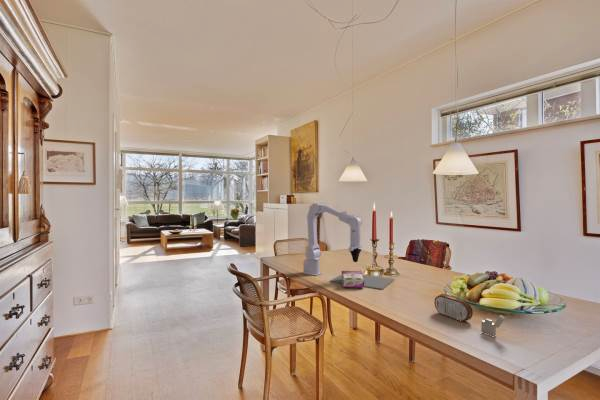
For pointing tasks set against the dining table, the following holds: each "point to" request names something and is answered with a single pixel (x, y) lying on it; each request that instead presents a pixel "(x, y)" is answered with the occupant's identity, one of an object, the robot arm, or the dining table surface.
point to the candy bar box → (352, 279)
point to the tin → (453, 307)
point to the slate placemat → (370, 281)
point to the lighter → (491, 325)
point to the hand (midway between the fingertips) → (355, 261)
